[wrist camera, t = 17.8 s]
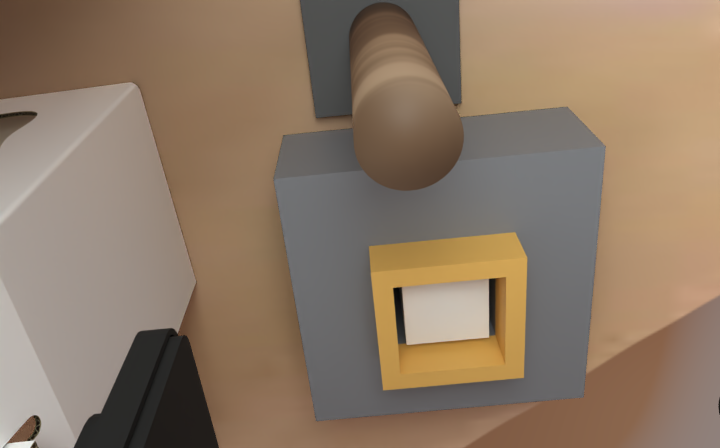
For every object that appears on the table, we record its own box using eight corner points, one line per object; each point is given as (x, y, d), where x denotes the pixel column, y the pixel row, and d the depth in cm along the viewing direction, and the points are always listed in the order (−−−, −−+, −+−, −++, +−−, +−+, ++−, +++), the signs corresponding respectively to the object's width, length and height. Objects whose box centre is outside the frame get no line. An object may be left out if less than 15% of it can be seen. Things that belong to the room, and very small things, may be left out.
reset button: (393, 221, 39) (401, 276, 33) (468, 213, 39) (488, 267, 33) (398, 284, 41) (406, 345, 36) (469, 277, 41) (488, 337, 35)
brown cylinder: (345, 6, 33) (347, 92, 20) (414, -2, 33) (462, 80, 20) (352, 73, 35) (359, 195, 21) (418, 67, 35) (465, 185, 21)
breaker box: (283, 135, 37) (268, 202, 29) (567, 106, 36) (625, 167, 29) (319, 356, 44) (314, 453, 37) (554, 334, 44) (598, 428, 36)
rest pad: (295, -39, 32) (295, -37, 32) (455, -56, 32) (457, -55, 32) (316, 114, 36) (316, 117, 36) (459, 100, 36) (461, 103, 36)
